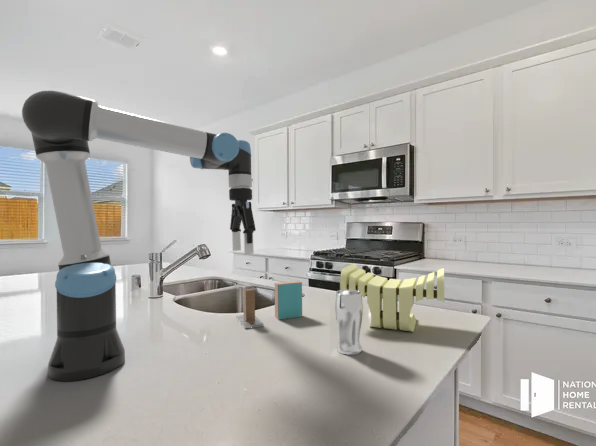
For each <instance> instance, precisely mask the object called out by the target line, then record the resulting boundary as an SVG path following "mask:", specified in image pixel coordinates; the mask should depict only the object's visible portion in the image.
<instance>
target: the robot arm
mask: <svg viewBox="0 0 596 446" xmlns="http://www.w3.org/2000/svg"><path fill="white" fill-rule="evenodd" d="M21 116H22V120H23V123H24V125H25V126H26V128H27V129H28V130H29V131H30V133H31V138H32V142H33V148H34V150H35V157H36V158H37V159H38V160H40V161H41V162H43V163H44V164H45V168H46V169H45V170H46V174H47V178H48V184H49V188H50V193H51V198H52V203H53V208H54V213H55V218H56V223H57V229H58V233H59V234H58V235H59V239H60V243H61V249H62V253H63V256H62V258H61V259H60V260H59V261H58V263H57V265H58V272H57V273H56V279H55V283H54V287H55V290H56V333H57V334H56V336H57V338H56V341H55V343H54V346H53V349H52V352H51V355H50V357H49V361H48V364H47V376H48V378H49V379H51V380H53V381H59V382H71V381H72V382H73V381H80V380H87V379H91V378H94V377H98V376H101V375H104V374H107V373H109V372H112V371H113V370H115V369H117V368H119V367H121V365H122V364H124V362H125V360H126V353H125V347H124V344H123V342H122V339H121V337H120V334H119V332H118V330H117V300H116V299H117V295H116V292H117V291H116V287H117V285H116V283H117V275H116V269H115V268H114V266H113V265H112V262H111V258H110V254H109V253H108V252H106V251H105V250H104V249H102V244H101V239H100V234H99V229H98V224H97V223H98V222H97V218H96V213H95V207H94V202H93V197H92V192H91V187H90V182H89V181H90V180H89V177H88V175H89V174H88V172H87V171H88V169H87V166H86V161H87V160H88V159H89V157H90V156H91V152H90V146H89V142H92V141H94V140H95V139H97V140H98V139H99V140H104V141H110V142H113V143H119V144H125V145H128V146H134V147H140V148H143V149H145V148H146V149H151V150H155V151H160V152H165V153H170V154H174V155H180V156H185V157H189V163H190V165H191V167H192V168H193V169H200V170H223V171H226V170H227V171H228V188H229V190H228V194H229V195H228V196H229V197H228V198H229V200H230V201H234V203H232V204H231V217H230V223H229V225H230V226H229V229H230V230H231V235H232V236H231V239H232V240H231V241H232V251H233V252H236V251H237V252H238V251H241V250H242V246H241V232H242V231H243V232H242V234H243V246H244V247H243V248H244V255H252V254H253V255H254V232H256V225H255V219H254V215H253V214H254V213H253V208H252V203H251V201H252V200H253V189H252V186H253V185H252V183H253V182H254V179H253V178H252V151H251V150H252V149H251V144H250V143H249V142H248V141H247V140H245V139H243V140H242V139H241V140H240V139H237V138H236V137H235V136H234V135H233V134H232V133H228V132H219V133H217V134H216V133H212V132H208V131H203V130H199V129H194V128H190V127H187V126H182V125H178V124H174V123H171V122H166V121H162V120H158V119H154V118H150V117H147V116H141V115H137V114H134V113H129V112H125V111H121V110H118V109H113V108H108V107H105V106H101V105H100V104H99V103H98V102H97V101H96V100H94V99H91V98H87V97H83V96H80V95H77V94H71V93H67V92H63V91H57V90H41V91H37V92H35V93H32V94H31V95H30V96H29V97H28V98H27V99H26V100H25V101H24V103H23V105H22V110H21ZM241 224H242V226H243V230H242V229H241Z"/></svg>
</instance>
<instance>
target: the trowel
mask: <svg viewBox="0 0 596 446" xmlns="http://www.w3.org/2000/svg"><path fill="white" fill-rule="evenodd" d="M255 292H256V290H255V289H254V288H243V292H242V293H243V294H242V295H243V314H242V315H235V318H237V319H238V320H239V321H240V322H241V324H242V325H243V326H244V327H245V328H250V329H252V328H251V327H257V328H260V327H259V326H264V325H265V324H264V322H263V321H261V319H259V318H258V317H257V316H256V298H255V297H256V293H255ZM237 319H236V320H237ZM238 320H237V321H238ZM239 321H238V322H239ZM241 324H240V325H241ZM242 325H241V326H242ZM243 326H242V327H243ZM244 327H243V328H244ZM245 328H244V329H245Z"/></svg>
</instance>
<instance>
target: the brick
mask: <svg viewBox="0 0 596 446" xmlns="http://www.w3.org/2000/svg"><path fill="white" fill-rule="evenodd" d="M275 317H276V318H277V319H281V320H286V318H288V319H294V317H295V318H302V317H303V282H302V281H300V280H293V281H292V280H291V281H282V282H281V281H279V282H274V318H275ZM276 318H275V319H276ZM277 319H276V320H277Z"/></svg>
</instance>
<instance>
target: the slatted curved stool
mask: <svg viewBox="0 0 596 446" xmlns="http://www.w3.org/2000/svg"><path fill="white" fill-rule="evenodd" d="M339 276H340V278H339V290H357V291H360V292H362V298H365V297H366V303H367V305H368V308H369V312H370V318H371V321H370V325H369V327H370V328H379V329H382V328H383V329H387V330H398V329H399V330H400V331H405V332H413V333H414V332H415V327H416V323H417V318H416V317H415V314H414V313H411V310H412V308H413V306H414V301H415V303H416V302H418V301H421V300H424V298H426V299H427V300H434V299H436V300H437V301H439V302H442V303H445V268H444V267H442V268H440V269H438V270H437V274H436V289H435V271H433V272H430V273H428V274H427V277H426V275H421V276H419V277H418V278H417V277H411V278H404V279H403V280H402V278H389V280H388V277H385V276H380V275H375V276H374V273H371V272H367V273H366V270H365V269H363V268H358V266H357V265H356V264H354V263H351V264H349V265H346V266H345V267H343V268H342V269H341V272H340V275H339ZM425 284H426V285H425ZM425 286H426V287H425Z"/></svg>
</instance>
